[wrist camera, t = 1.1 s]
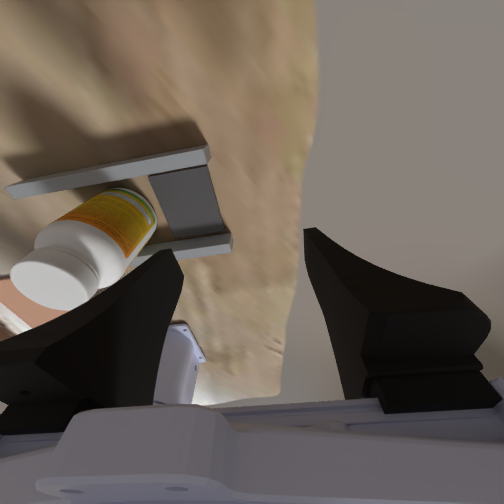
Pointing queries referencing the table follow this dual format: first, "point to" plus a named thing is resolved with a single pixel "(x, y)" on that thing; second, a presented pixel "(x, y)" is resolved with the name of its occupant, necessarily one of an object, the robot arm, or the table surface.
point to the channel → (167, 192)
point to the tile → (25, 305)
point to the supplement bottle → (85, 249)
